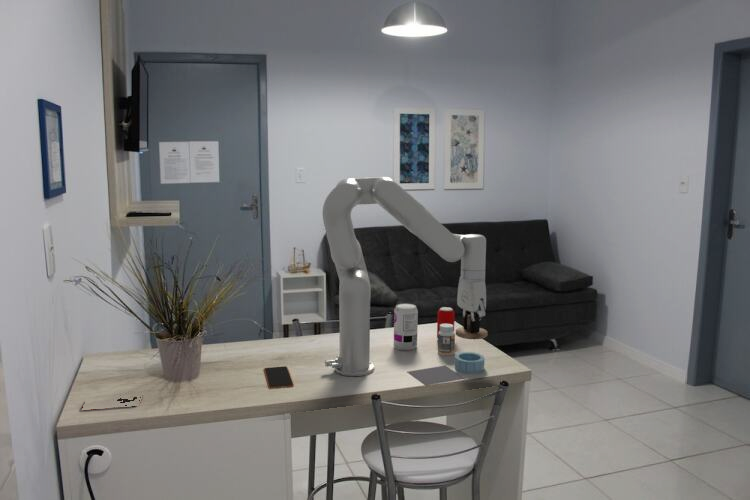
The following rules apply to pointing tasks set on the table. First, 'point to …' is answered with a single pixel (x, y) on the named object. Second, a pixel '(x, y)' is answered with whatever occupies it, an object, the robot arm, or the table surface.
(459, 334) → the lid
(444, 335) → the pill bottle
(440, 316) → the beverage can
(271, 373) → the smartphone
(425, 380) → the mat
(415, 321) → the supplement can
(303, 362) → the table surface
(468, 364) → the bowl
